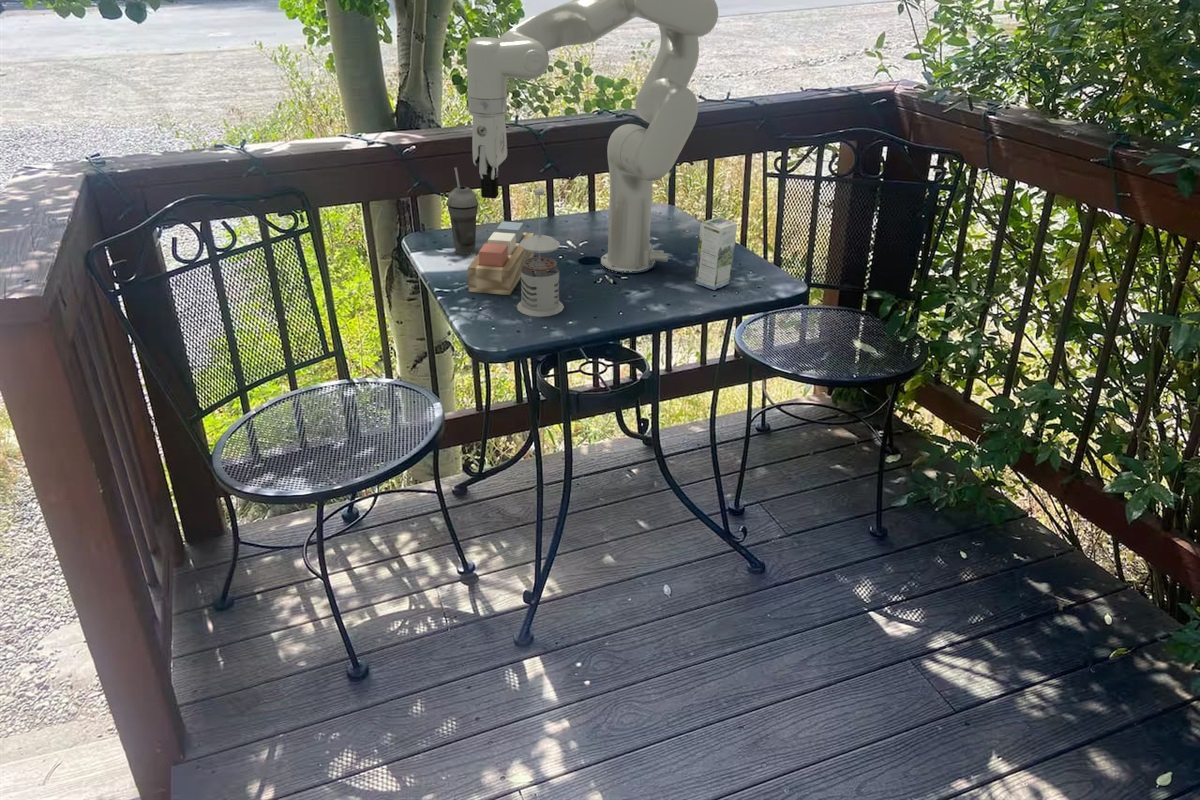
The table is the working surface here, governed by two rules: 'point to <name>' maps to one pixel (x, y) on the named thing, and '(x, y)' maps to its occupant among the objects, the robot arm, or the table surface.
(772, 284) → the table surface
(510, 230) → the blue key
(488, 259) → the red key
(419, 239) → the table surface
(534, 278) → the french press
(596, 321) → the table surface
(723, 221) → the syrup box
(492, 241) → the white key
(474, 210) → the beverage cup
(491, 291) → the key box
